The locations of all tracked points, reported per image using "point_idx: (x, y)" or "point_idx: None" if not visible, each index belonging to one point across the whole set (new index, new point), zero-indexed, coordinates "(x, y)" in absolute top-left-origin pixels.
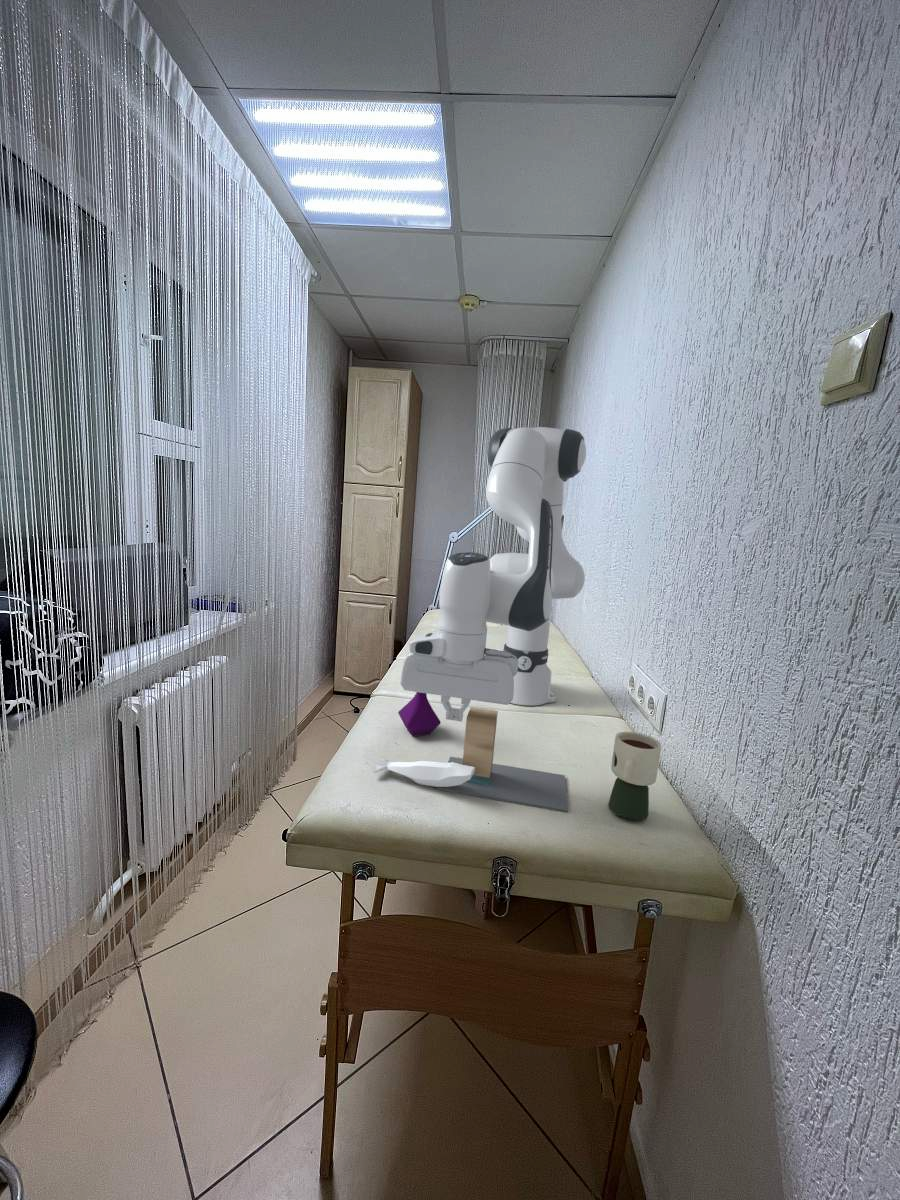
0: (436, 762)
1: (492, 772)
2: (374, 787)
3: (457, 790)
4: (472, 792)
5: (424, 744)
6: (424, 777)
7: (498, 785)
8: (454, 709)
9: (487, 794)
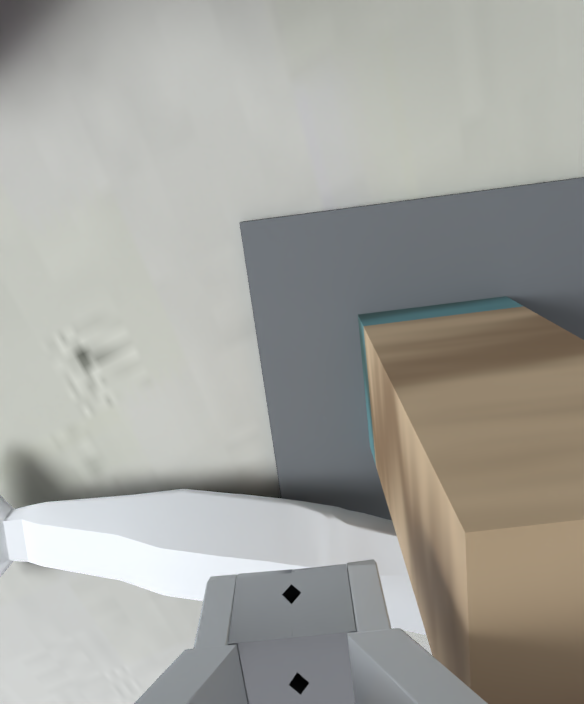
0: (252, 562)
1: (511, 297)
2: (46, 614)
3: None
4: None
5: (21, 106)
6: None
7: None
8: (286, 668)
9: None
